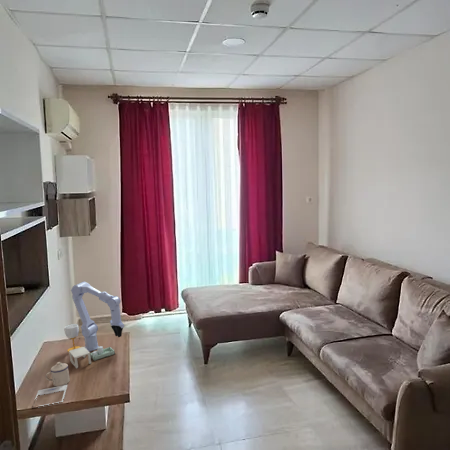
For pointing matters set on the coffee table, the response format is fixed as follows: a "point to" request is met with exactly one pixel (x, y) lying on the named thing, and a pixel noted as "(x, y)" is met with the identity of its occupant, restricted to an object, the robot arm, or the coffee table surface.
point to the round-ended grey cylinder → (100, 350)
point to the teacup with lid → (59, 374)
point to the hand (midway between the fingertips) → (118, 336)
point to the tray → (106, 351)
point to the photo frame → (52, 391)
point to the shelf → (79, 355)
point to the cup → (72, 334)
